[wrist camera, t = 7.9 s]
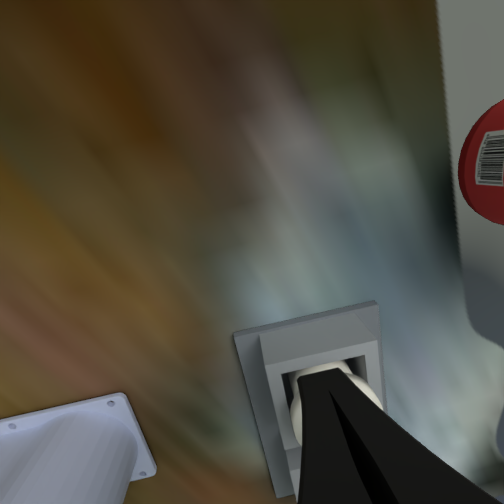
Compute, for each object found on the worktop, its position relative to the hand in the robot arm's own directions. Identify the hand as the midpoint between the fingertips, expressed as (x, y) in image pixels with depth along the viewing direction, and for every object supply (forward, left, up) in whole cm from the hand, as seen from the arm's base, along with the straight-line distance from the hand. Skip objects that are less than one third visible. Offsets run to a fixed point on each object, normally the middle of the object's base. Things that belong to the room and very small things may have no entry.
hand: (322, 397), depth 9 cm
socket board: (+2, -12, -10) cm, 16 cm away
